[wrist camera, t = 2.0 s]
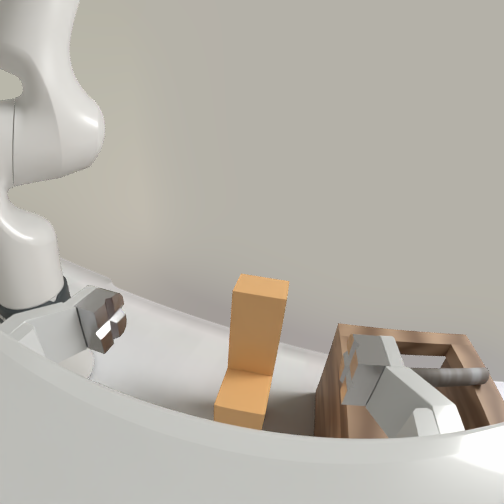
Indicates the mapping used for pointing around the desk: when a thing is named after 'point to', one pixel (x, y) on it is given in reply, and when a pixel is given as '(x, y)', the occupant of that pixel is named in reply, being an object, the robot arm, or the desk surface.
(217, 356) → the desk surface
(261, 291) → the tall tan upright block
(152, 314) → the desk surface
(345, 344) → the tan rectangular frame
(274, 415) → the desk surface
